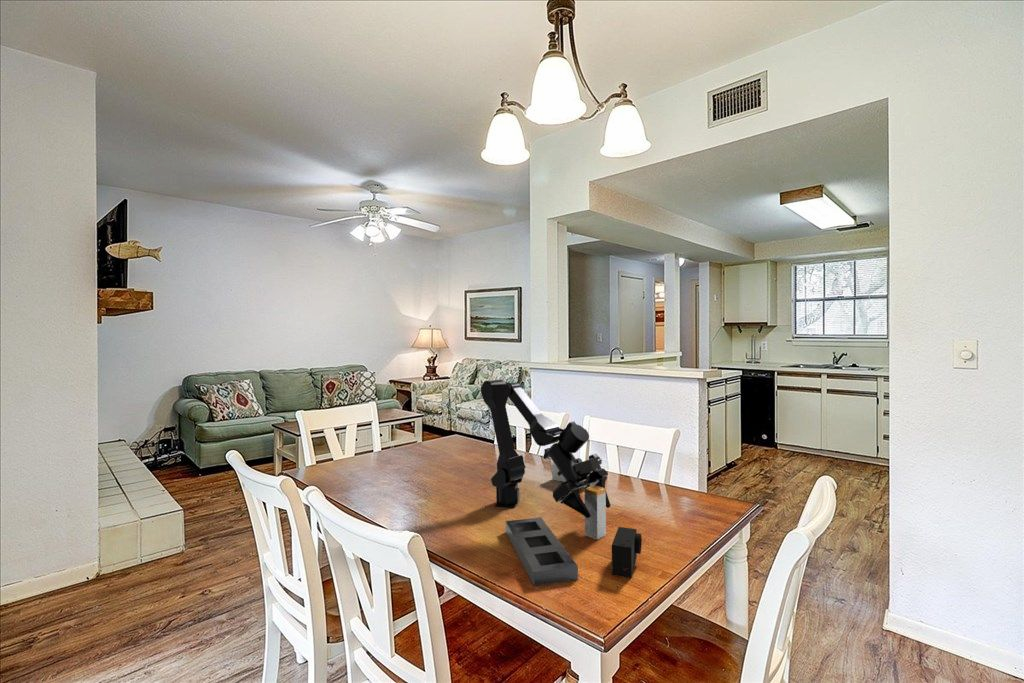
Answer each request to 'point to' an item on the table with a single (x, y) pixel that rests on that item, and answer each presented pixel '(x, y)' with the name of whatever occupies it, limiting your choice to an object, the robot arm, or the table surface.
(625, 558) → the digital camera
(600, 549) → the table surface
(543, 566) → the gray slotted board
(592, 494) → the grey square peg
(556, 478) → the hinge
